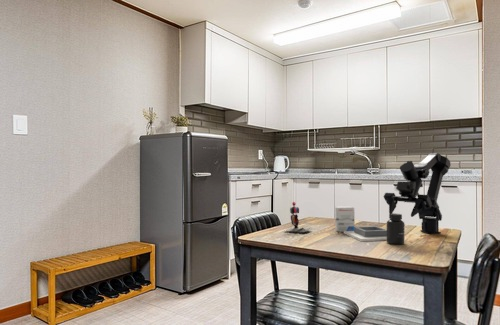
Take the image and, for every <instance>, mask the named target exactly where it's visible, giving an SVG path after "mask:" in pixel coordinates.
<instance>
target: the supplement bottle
mask: <svg viewBox="0 0 500 325" xmlns="http://www.w3.org/2000/svg"><path fill="white" fill-rule="evenodd" d="M402 219H403V215H402V214H401V213H395V212H393V213H392V214H388V220H387V221H386V230H387V240H386V242H387V244H389V245H395V246H396V245H397V246H403V245H405V227H406V226H405V221H403V220H402Z"/></svg>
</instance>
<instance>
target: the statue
mask: <svg viewBox="0 0 500 325" xmlns="http://www.w3.org/2000/svg"><path fill="white" fill-rule="evenodd" d="M291 203H292V207H290V208H289V212H290V213H289V214H290V222H291V225H292V226H291V227H289V228H288V229H285V230H284V232H286V233H288V232H289V233H297V234H298V233H299V234H300V233H301V234H305V233H308V232H311V231H310V230H312V227H306V228H305V227H302V226H301V227H300V226H299V222H300V220H299V215H298V214H300V208H299V206H296V201H293V202H291Z"/></svg>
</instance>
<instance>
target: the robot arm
mask: <svg viewBox="0 0 500 325" xmlns="http://www.w3.org/2000/svg"><path fill="white" fill-rule="evenodd" d="M451 164H452V163H451V160H450V159H449V158H448V157H446V156H444V155H442V154H441V153H438V152H430V153H427V156H426V157H425V158H424V159H423V160H422V161H420V162H419V163H416V164H414V163H413V161H412V160H407V161H406V162H404V163H403V164H401V165H400V167H399V170H400V172H401V174H402V176H403V178H404V180H406V181H396V182H397V183H396V190H397V191H398V194H399V195H400V196H399V195H396V194H395V192H385V193H384V194H383V199H384V200H385V202H386V204H387V205H388V213H389V214H392V213H394V211H395V209H396V208H397V205H398V202H403V203H409V204H410V203H411V204H414V206H413V208H412V211H411V213H410V217H415V216H416V215H417V214H418V218H419V220H421V221H422V222H421V229H420V231H419V232H422V233H425V234H441V231H439V229H440V228H439V221H440V222H441V221H442V219H443V215H442V213H441V210H440V206H439V204H438V199H439V198H438V197H439V194H440V188H441V186H442V182H443V181H442V180H443V177H444V176H445V175H447V173H448V172H449V170H450V168H451ZM430 170H431V176H430V180H429V185H428V189H427V192H426V194H420V189H421V188H423V187H424V185H423V179H427V178H428V177H429V175H430ZM389 214H388V215H389Z"/></svg>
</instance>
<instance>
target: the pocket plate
mask: <svg viewBox="0 0 500 325" xmlns="http://www.w3.org/2000/svg"><path fill="white" fill-rule="evenodd" d="M343 234H345V235H347V236H349V237H350V238H353V239H355V240H357V241H360V242H376V241H377V242H378V241H379V242H380V241H387V228H383V227H380V226H377V225H373V226H372V225H371V226H355V227H354V231H344V232H343Z"/></svg>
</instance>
